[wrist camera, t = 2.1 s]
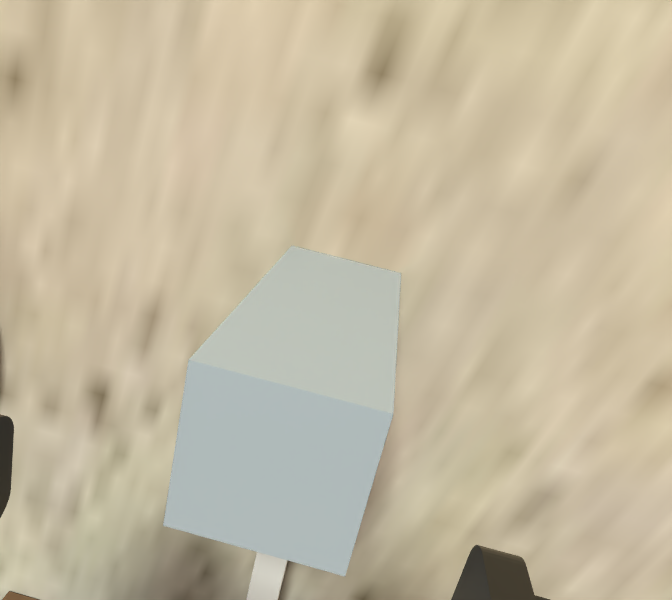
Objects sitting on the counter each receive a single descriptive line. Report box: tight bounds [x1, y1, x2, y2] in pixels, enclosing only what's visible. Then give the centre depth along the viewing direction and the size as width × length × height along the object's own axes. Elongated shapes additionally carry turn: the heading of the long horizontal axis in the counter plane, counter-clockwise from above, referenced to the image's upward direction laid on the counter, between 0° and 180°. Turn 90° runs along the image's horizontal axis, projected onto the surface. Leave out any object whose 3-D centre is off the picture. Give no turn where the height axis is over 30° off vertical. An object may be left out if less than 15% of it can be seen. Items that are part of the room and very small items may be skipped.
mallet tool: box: [163, 246, 401, 600], centre depth 19 cm, size 4×21×10 cm, turn 167°
